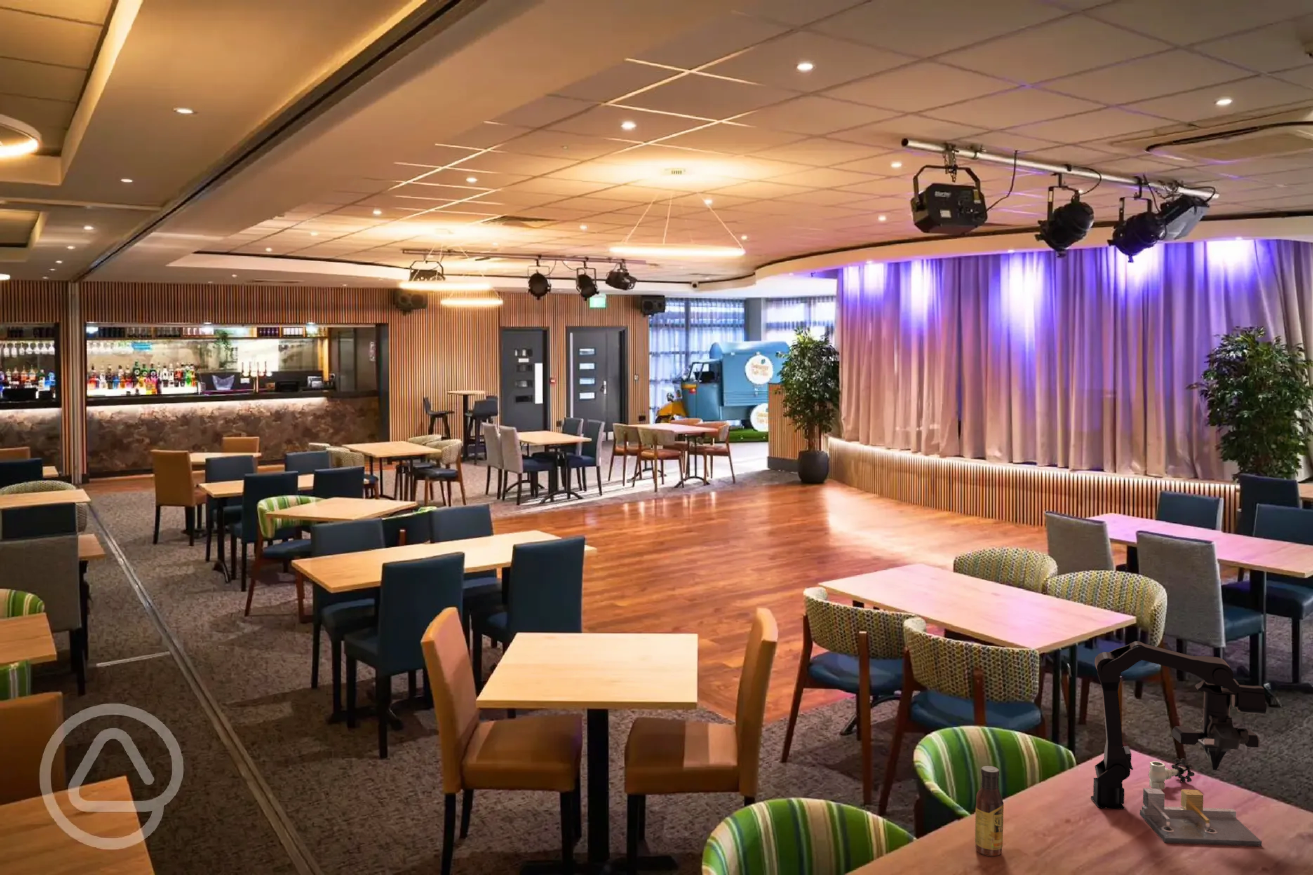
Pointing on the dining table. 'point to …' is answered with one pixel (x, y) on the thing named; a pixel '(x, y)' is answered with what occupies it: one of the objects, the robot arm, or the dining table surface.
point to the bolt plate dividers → (1194, 823)
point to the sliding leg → (1194, 803)
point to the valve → (1168, 773)
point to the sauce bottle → (989, 814)
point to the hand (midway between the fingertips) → (1213, 769)
